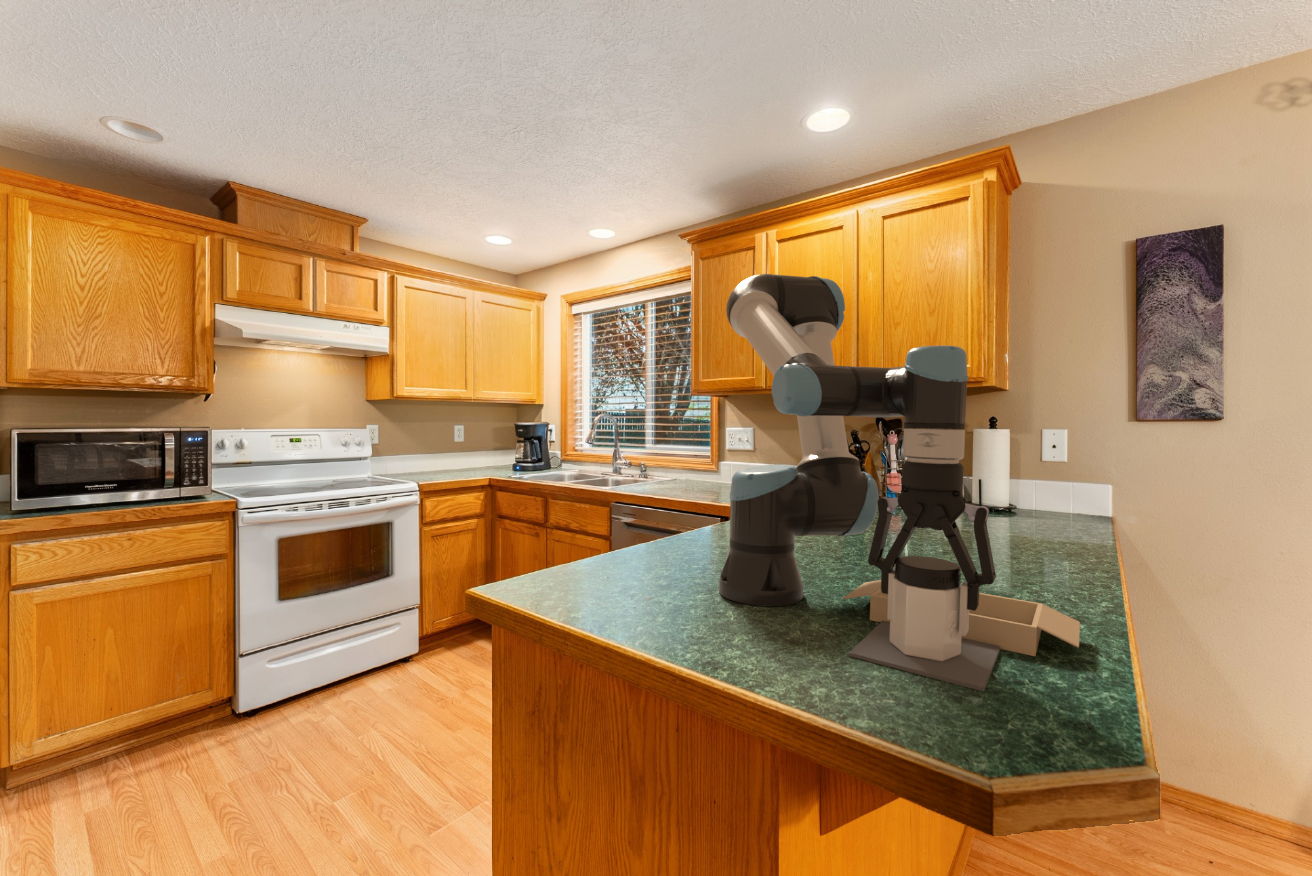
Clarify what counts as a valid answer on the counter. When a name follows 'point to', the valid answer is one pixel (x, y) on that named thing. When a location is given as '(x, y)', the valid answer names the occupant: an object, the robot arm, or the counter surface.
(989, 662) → the mat
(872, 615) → the carton
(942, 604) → the jar
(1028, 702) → the counter surface
